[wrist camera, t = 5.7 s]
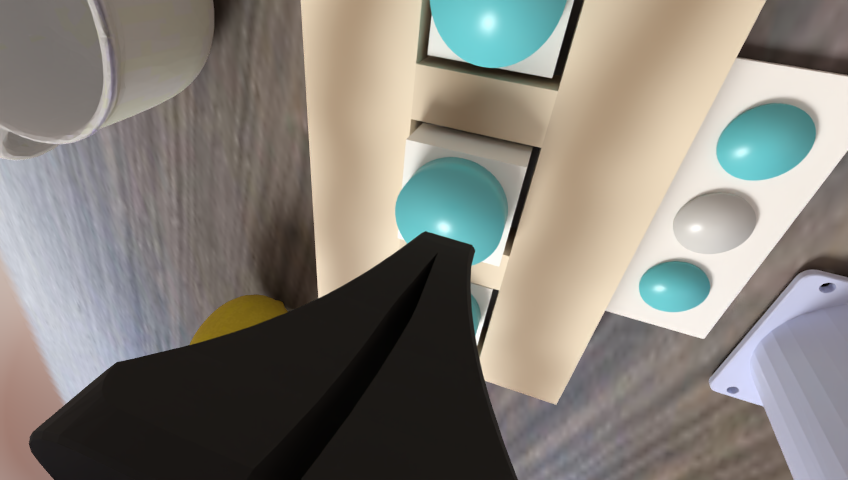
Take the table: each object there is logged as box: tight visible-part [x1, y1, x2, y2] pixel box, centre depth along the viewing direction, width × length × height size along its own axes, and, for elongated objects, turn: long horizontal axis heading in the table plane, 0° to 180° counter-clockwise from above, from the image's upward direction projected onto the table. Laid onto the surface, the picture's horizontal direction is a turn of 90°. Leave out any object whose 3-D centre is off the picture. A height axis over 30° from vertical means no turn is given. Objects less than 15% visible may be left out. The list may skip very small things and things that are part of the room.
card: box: [605, 57, 848, 339], centre depth 17 cm, size 5×12×1 cm, turn 175°
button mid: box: [395, 123, 533, 267], centre depth 16 cm, size 4×4×3 cm
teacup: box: [0, 0, 214, 160], centre depth 17 cm, size 14×11×8 cm
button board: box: [301, 0, 766, 404], centre depth 18 cm, size 14×22×3 cm, turn 175°
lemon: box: [190, 295, 288, 345], centre depth 26 cm, size 6×6×8 cm
